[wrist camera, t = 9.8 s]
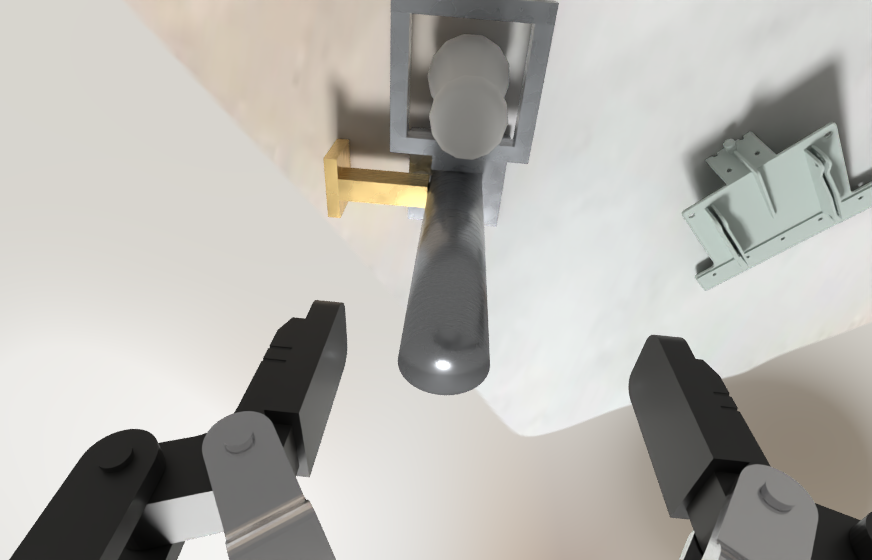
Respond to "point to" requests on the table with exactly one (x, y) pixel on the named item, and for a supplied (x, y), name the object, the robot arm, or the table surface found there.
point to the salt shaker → (468, 96)
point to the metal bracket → (772, 201)
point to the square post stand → (446, 201)
